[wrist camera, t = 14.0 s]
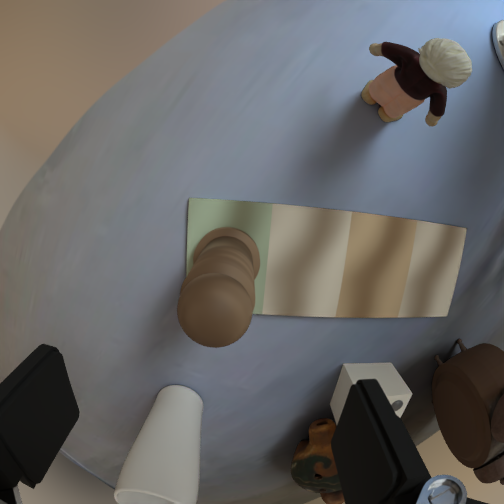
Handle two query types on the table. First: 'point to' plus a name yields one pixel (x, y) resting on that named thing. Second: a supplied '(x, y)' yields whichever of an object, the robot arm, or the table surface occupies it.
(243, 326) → the pawn
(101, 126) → the table surface
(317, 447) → the decorative turtle
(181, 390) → the drinking glass
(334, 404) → the die
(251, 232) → the track board
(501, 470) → the alarm clock
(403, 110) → the grandmother figurine
